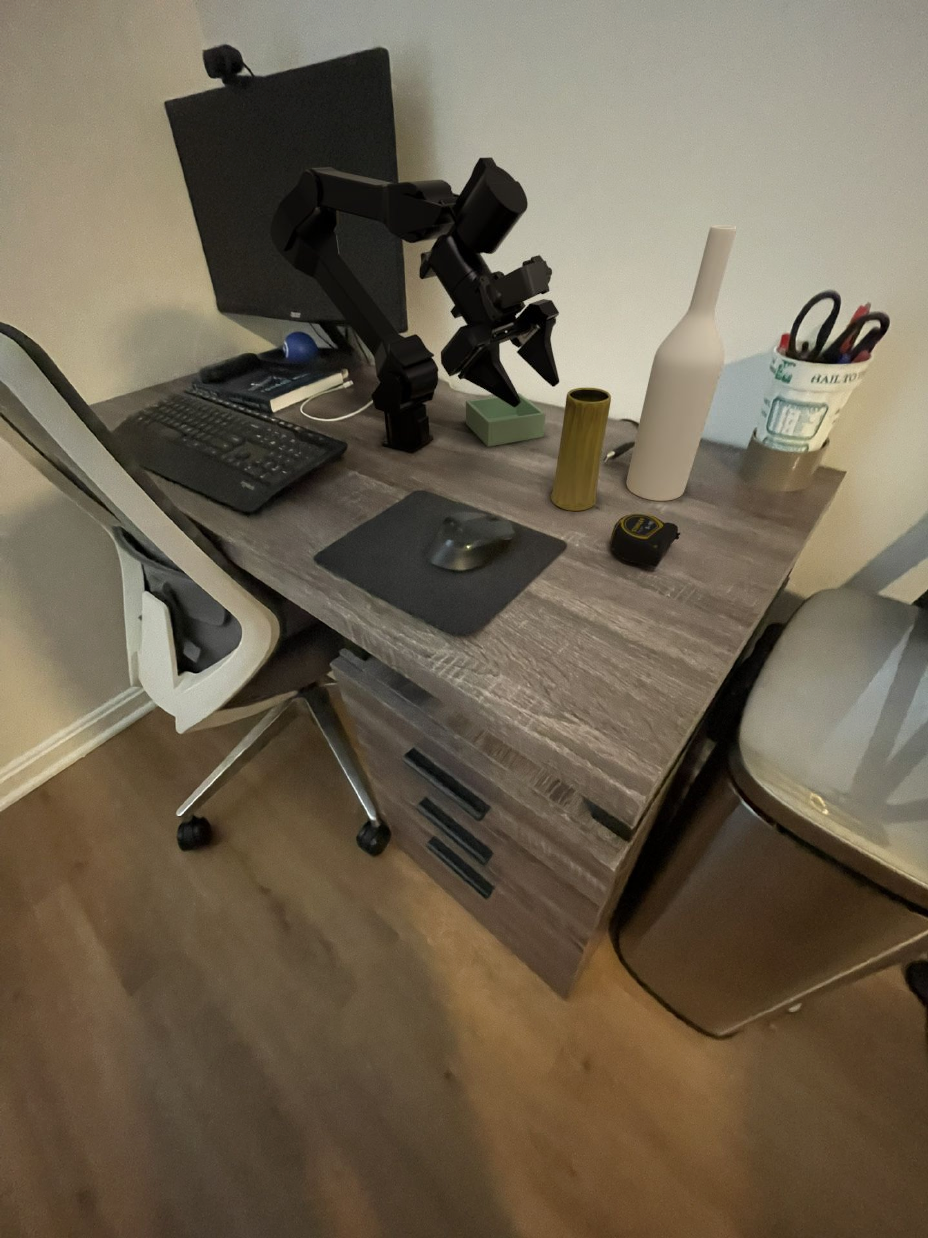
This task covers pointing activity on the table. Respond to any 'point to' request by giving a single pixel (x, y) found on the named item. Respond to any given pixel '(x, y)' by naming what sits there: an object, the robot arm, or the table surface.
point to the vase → (581, 448)
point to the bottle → (682, 384)
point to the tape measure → (643, 538)
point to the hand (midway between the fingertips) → (538, 394)
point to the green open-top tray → (504, 420)
